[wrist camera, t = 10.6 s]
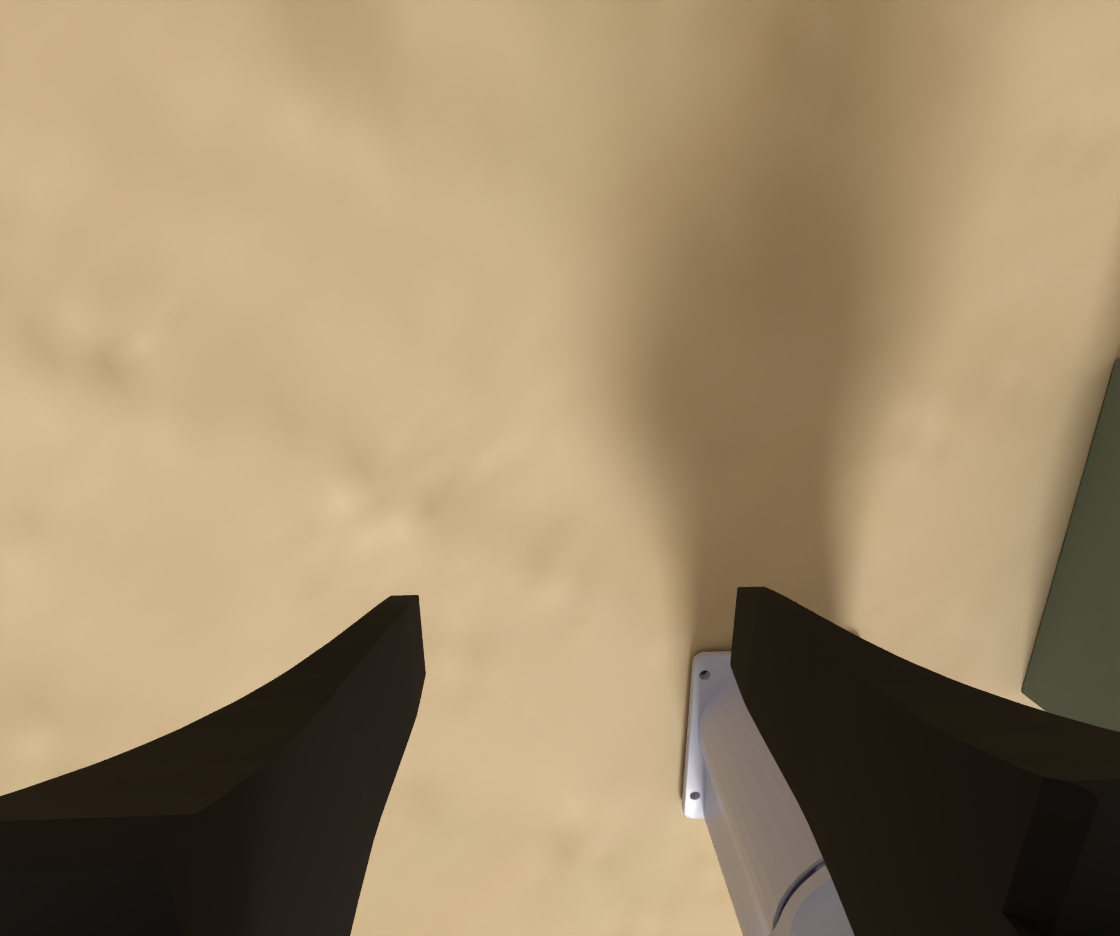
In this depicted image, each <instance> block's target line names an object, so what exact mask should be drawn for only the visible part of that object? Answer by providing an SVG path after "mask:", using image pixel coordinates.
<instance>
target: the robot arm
mask: <svg viewBox="0 0 1120 936" xmlns="http://www.w3.org/2000/svg"><path fill="white" fill-rule="evenodd" d="M705 670H706V671H707V672H706V673H705V674H702V675H701V674H700V673H701V672H702V671H705ZM425 675H426V672H425V661H424V650H423V639H422V628H421V617H420V606H419V595H402V596H390V597H388V598H387V599H385V600H384V601H383V602H381V603H380V604H379V605H377V606H376V607H375V608H373V609H372V610H371V611H369V612H368V613H367V614H366V615H364V616H363V617H362V618H360V619H359V620H358V621H357V622H355V623H354V624H353V625H351V626H350V627H349V628H347V629H346V630H345V631H343V632H342V633H341V634H339V635H338V636H337V637H336V638H334V639H333V640H332V641H330V642H329V643H327V644H326V645H324V646H323V647H322V648H320V649H319V650H317V651H316V652H314V653H313V654H311V655H310V656H309V657H307V658H306V659H304V660H303V661H301V662H300V663H298V664H297V665H296V666H294V667H293V668H291V669H290V670H288V671H287V672H285V673H283V674H282V675H280V676H279V677H277V678H275V679H274V680H272V681H270V682H269V683H267V684H265V685H264V686H262V687H260V688H258V689H257V690H255V691H253V692H251V693H250V694H248V695H246V696H244V697H243V698H241V699H239V700H237V701H235V702H233V703H231V704H229V705H227V706H225V707H223V708H221V709H219V710H217V711H215V712H213V713H211V714H209V715H207V716H205V717H203V718H201V719H199V720H197V721H195V722H193V723H191V724H189V725H187V726H185V727H183V728H181V729H178V730H176V731H174V732H172V733H169V734H167V735H165V736H163V737H160V738H158V739H156V740H153V741H151V742H149V743H146V744H144V745H142V746H139V747H137V748H134V749H132V750H129V751H127V752H124V753H122V754H119V755H117V756H114V757H112V758H109V759H107V760H104V761H101V762H99V763H96V764H93V765H91V766H88V767H85V768H82V769H79V770H76V771H74V772H71V773H68V774H65V775H62V776H59V777H56V778H53V779H50V780H47V781H45V782H42V783H39V784H36V785H33V786H30V787H27V788H24V789H21V790H18V791H15V792H12V793H9V794H6V795H3V796H0V936H350V934H351V930H352V925H353V921H354V917H355V913H356V908H357V904H358V900H359V896H360V892H361V888H362V884H363V880H364V876H365V872H366V868H367V864H368V860H369V856H370V853H371V849H372V845H373V841H374V838H375V834H376V831H377V828H378V825H379V822H380V818H381V815H382V813H383V810H384V807H385V804H386V801H387V799H388V796H389V793H390V790H391V787H392V785H393V782H394V779H395V776H396V773H397V771H398V768H399V765H400V762H401V759H402V757H403V754H404V751H405V748H406V745H407V742H408V740H409V737H410V734H411V731H412V728H413V725H414V722H415V719H416V716H417V712H418V708H419V703H420V699H421V694H422V689H423V684H424V679H425ZM695 791H696V792H695ZM692 792H694V793H692ZM682 809H683V813H684V815H685V816H686V817H688V818H705V821H706V824H707V828H708V831H709V834H710V837H711V840H712V843H713V846H714V849H715V852H716V855H717V858H718V861H719V864H720V867H721V870H722V873H723V876H724V879H725V882H726V885H727V888H728V891H729V894H730V897H731V900H732V904H733V907H734V910H735V913H736V916H737V919H738V922H739V925H740V928H741V931H742V934H743V936H1120V732H1118V731H1113V730H1110V729H1106V728H1102V727H1098V726H1095V725H1091V724H1088V723H1084V722H1080V721H1077V720H1073V719H1070V718H1066V717H1063V716H1059V715H1055V714H1052V713H1049V712H1045V711H1042V710H1039V709H1036V708H1033V707H1029V706H1026V705H1023V704H1020V703H1017V702H1014V701H1011V700H1008V699H1005V698H1002V697H999V696H996V695H994V694H991V693H988V692H985V691H982V690H979V689H976V688H973V687H971V686H968V685H966V684H963V683H960V682H958V681H955V680H952V679H950V678H947V677H945V676H943V675H940V674H938V673H935V672H933V671H931V670H928V669H926V668H924V667H921V666H919V665H916V664H914V663H912V662H909V661H907V660H905V659H903V658H901V657H898V656H896V655H894V654H892V653H890V652H888V651H886V650H884V649H882V648H880V647H878V646H876V645H874V644H872V643H870V642H868V641H866V640H864V639H862V638H860V637H858V636H856V635H854V634H852V633H850V632H848V631H847V630H845V629H843V628H841V627H839V626H837V625H835V624H834V623H832V622H830V621H828V620H826V619H825V618H823V617H821V616H819V615H817V614H816V613H814V612H812V611H810V610H808V609H807V608H805V607H803V606H801V605H799V604H798V603H796V602H794V601H792V600H790V599H789V598H787V597H785V596H783V595H781V594H779V593H777V592H775V591H773V590H771V589H768V588H766V587H738V589H737V599H736V609H735V619H734V630H733V640H732V650H731V651H716V652H701V653H698V654H697V655H696V656H695V657H694V658H693V662H692V675H691V689H690V702H689V715H688V729H687V742H686V756H685V769H684V782H683V796H682Z"/></svg>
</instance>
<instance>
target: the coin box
mask: <svg viewBox="0 0 1120 936" xmlns="http://www.w3.org/2000/svg"><path fill="white" fill-rule="evenodd" d="M1022 693H1023V694H1024V695H1026V696H1027V697H1028V698H1029V699H1031V700H1032V701H1033V702H1035V703H1036V704H1037V705H1038V706H1040V707H1041V708H1042V709H1044V710H1045V711H1046V712H1049V713H1052V714H1055V715H1059V716H1063V717H1066V718H1070V719H1073V720H1077V721H1080V722H1084V723H1088V724H1091V725H1095V726H1098V727H1102V728H1106V729H1110V730H1113V731H1118V732H1120V360H1116V362H1115V365H1114V369H1113V372H1112V376H1111V379H1110V383H1109V386H1108V390H1107V393H1106V397H1105V400H1104V404H1103V407H1102V411H1101V414H1100V418H1099V422H1098V425H1097V429H1096V432H1095V436H1094V439H1093V443H1092V446H1091V450H1090V453H1089V457H1088V460H1087V464H1086V467H1085V471H1084V474H1083V478H1082V481H1081V485H1080V488H1079V492H1078V495H1077V499H1076V503H1075V506H1074V510H1073V513H1072V517H1071V520H1070V524H1069V527H1068V531H1067V534H1066V538H1065V541H1064V545H1063V548H1062V552H1061V555H1060V559H1059V562H1058V566H1057V569H1056V573H1055V576H1054V580H1053V584H1052V587H1051V591H1050V594H1049V598H1048V601H1047V605H1046V608H1045V612H1044V615H1043V619H1042V622H1041V626H1040V629H1039V633H1038V636H1037V640H1036V643H1035V647H1034V650H1033V654H1032V657H1031V661H1030V665H1029V668H1028V672H1027V675H1026V679H1025V682H1024V686H1023V689H1022Z"/></svg>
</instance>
